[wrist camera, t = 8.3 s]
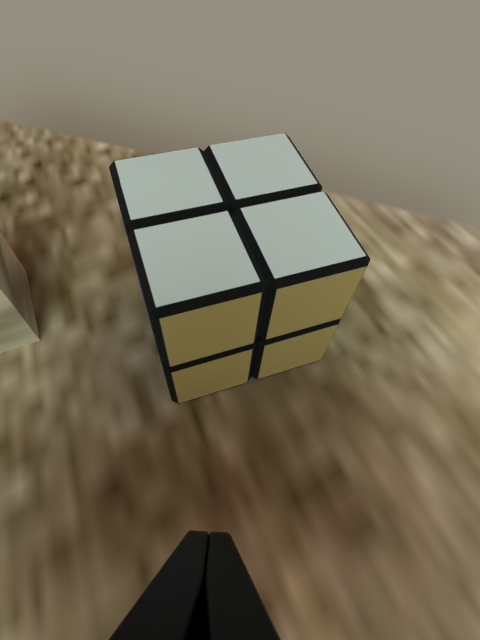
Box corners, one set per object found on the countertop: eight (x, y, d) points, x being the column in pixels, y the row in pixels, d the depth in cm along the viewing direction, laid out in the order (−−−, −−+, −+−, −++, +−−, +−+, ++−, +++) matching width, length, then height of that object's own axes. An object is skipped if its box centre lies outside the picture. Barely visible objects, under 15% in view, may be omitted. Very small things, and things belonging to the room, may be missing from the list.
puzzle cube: (138, 279, 28) (105, 157, 20) (267, 249, 31) (287, 127, 22) (173, 407, 24) (149, 317, 15) (324, 360, 26) (377, 259, 17)
